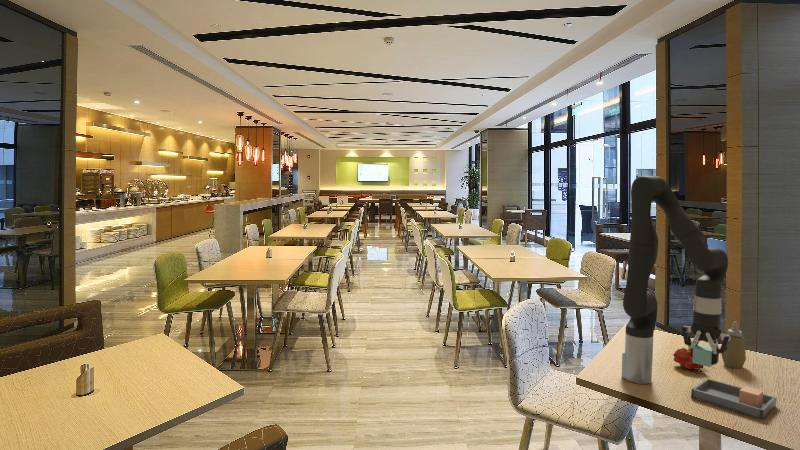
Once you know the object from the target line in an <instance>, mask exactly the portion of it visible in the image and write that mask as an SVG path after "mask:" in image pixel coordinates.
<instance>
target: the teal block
mask: <svg viewBox="0 0 800 450" xmlns="http://www.w3.org/2000/svg"><path fill="white" fill-rule="evenodd" d="M712 353H713V351H712V348H711V347H710V345H709V346H708V345H704V344H701V343H700V344H699V343H698V345H697V346H695V347H693V359H692V363H696V364H700V365H703V366H704V367H708V368H711V367H712V366H713V365H712Z"/></svg>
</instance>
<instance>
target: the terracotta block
mask: <svg viewBox="0 0 800 450" xmlns="http://www.w3.org/2000/svg"><path fill="white" fill-rule="evenodd" d="M741 388H742V389H741V390H740V395H739V402H740V403H743V404H746V405H750V406H753V407H756V408H761V407H762V401H763V394H764V391H763V390H761V389H756V388H755V387H754V388H753V387H750V386H746V385H744V386H743V387H741Z"/></svg>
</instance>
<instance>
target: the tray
mask: <svg viewBox="0 0 800 450" xmlns="http://www.w3.org/2000/svg"><path fill="white" fill-rule="evenodd" d="M742 388H743V387H740V386H736V385H733V384H730V383H726V382H723V381H718V380H715V379H713V378H712V379H711V378H708V377H707V378H705V379H704V380H702V381H701V382H700V383H698V384H697V385H695V386H694V387H692V388H691V389H690V390H691V391H690V394H691V395H690V398H691V399H696V400H697V401H698V400H699V401H702V402H704V403H708V404H712V405H714V406H717V407H720V408H723V407H724V408H723V409H726V408H727V410H729V409H730V410H729V411H733V410H734V411H733V412H737V413H740V414H742V415H746V416H749V417H752V418H756V419H759V420H762V421H763V420H764V419H765V418H766V417H767V416H768V415H769V414H770V413H771V412H772V411H773V410H774V409H775V408H776V407H777V397H776V396H773V395H768V394H765V393H763V401H762V407H761V408H756V407H753V406H750V405H746V404H743V403H740V402H739V395H740V390H741V389H742Z"/></svg>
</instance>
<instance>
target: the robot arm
mask: <svg viewBox="0 0 800 450" xmlns="http://www.w3.org/2000/svg"><path fill="white" fill-rule="evenodd" d="M652 202H653V203H655V204H656V205H657V206H659V208H660V209H662V211H663V212H664V214H665V216H666V219H667V222H668V223H667V224H668V226H669V229H670V231H671V232H672V234H673V235H674V237H675V238H676V239H677V241H679V243H680V244H681V245H682V246H683V248H684V250H685V253H686V255H687V257H688V259H689V261H690V262H691V264H692V265H693V267H695V268H696V269H697V270H699V271H701V272H703V273H702V275H701V276H700V277H698V278H697V279H696V281H695V289H694V290H695V291H694V297H693V299H694V300H693V305H692V306H693V307H692V308H693V309H692V310H693V311H692V324H691V325H690V326H688V325H683V326H682V327H681V331H682V332H681V333H682V336H683V337H682V338H683V341H684V342H683V343H684V345H686V346H688V347H690V349H691V354H690V356H691V357H692V359H693V347H695V346H697V345H699V343H700V342H706V343H708V345H709V347H711V348H712V351H713V353H712V366H715V365H717V364H718V363H719V358H720V357H719V355H720V354H723V353H724V352H726V351H727V348H728V345H729V343H730V340H731V335H727V334H725V333H723V332H722V330H721V322H722V321H721V320H722V319H721V318H722V311H723V310H722V309H723V308H722V287H723V286H722V285H723V282H724V280H725V277H726V273H727V271H728V267H729V257H728V254H727V252H726V251H724V249H721V248H718V247H710V248H707V246H706V245H705V241H706V235H705V234H704V232H703V231H702V230H701V228H700V227H699V226H698V225H697V224H696V223H695V222H694V221H693V220H692V218H691V217H690V216H689V215H688V213H687V212H686V211H685V209H684V208H683V206H682V204H681V202H679V200H678V198H677V196H676V195H675V193H674V191H673V190H672V188H671V186H670V184H669V183H668V182H667V181H666V180H665V179H664V178H663V177H661V176H658V175H641V176H637V177H636V178H635V179H634V180H633V182H632V184H631V188H630V209H631V210H630V212H631V213H630V214H631V219H630V220H631V221H630V236H629V246H628V261H627V277H626V281H625V282H626V284H625V289H624V293H623V298H622V307H623V310H624V312H625V314H626V315H627V316H628V317H629V318H630V319H629V321H628V322H627V323H626V325H625V337H624V338H625V340H624V341H625V342H624V351H623V352H622V355H621V378H623V379H625V380H626V381H628V382H631V383H634V384H638V385H647V384H651V383H652V380H653V379H652V377H653V353H654V333H655V330H656V327H657V321H658V320H657V319H658V301H657V298H656V296H655V295H654V294H653V293H652V292H650V291H648V285H649V280H650V276H651V274H652V272H653V270H654V267H655V265H656V263H657V259H658V252H659V236H658V234H657V231H656V228H655V225H654V223H653V220H652V216H651V214H652ZM691 331H692V333H693V335H694V337H693V339H692V337H691ZM719 337H721V338H720V339H721V341H722V343H721V345H720V347H719V342H718V338H719Z"/></svg>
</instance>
